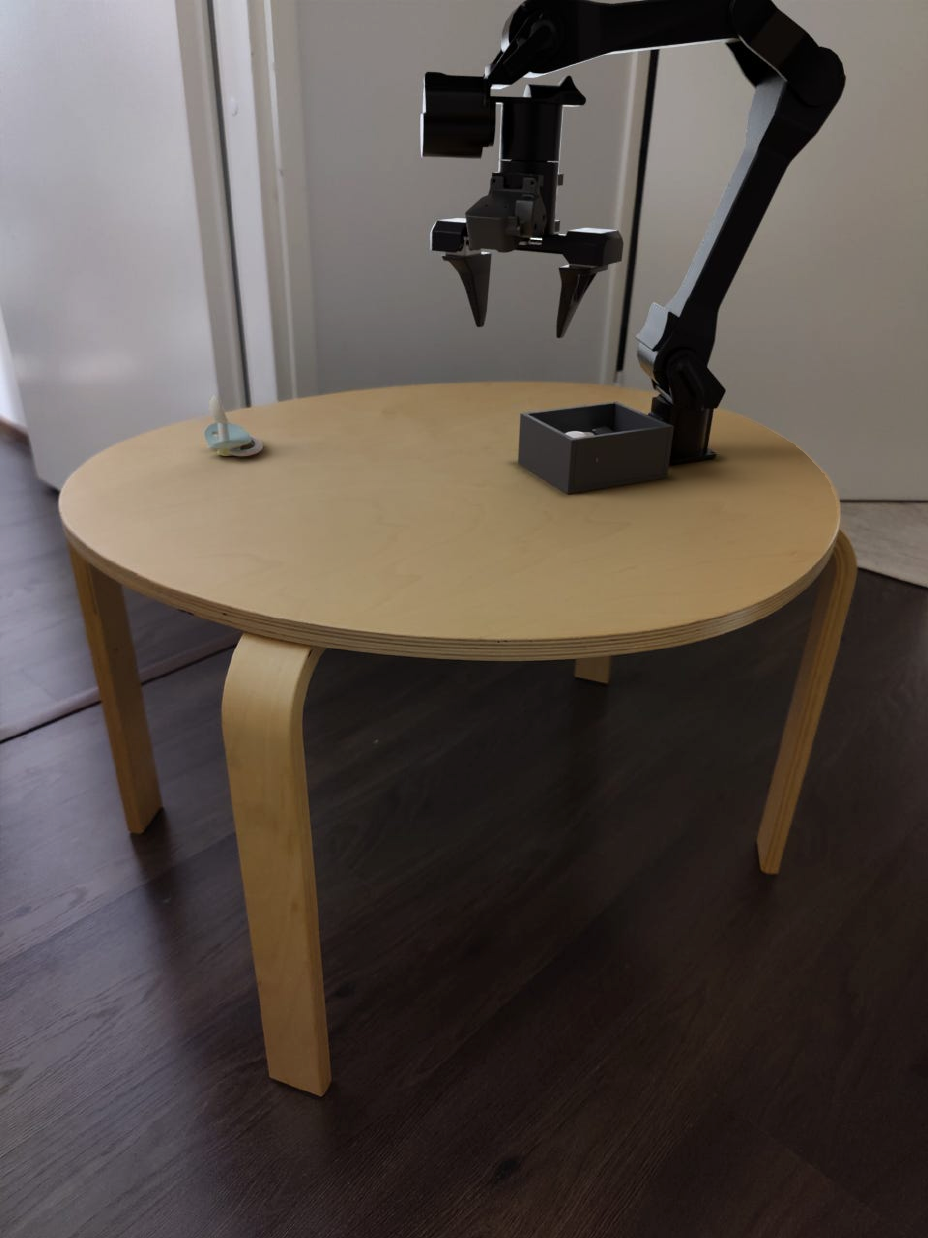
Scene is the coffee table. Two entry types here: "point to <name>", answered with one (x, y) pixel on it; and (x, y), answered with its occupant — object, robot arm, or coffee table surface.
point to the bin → (594, 447)
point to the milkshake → (590, 432)
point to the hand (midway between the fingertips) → (519, 331)
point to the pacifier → (228, 434)
